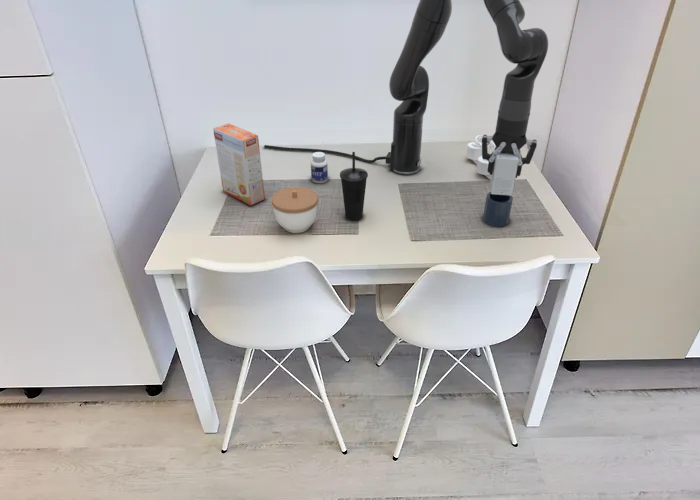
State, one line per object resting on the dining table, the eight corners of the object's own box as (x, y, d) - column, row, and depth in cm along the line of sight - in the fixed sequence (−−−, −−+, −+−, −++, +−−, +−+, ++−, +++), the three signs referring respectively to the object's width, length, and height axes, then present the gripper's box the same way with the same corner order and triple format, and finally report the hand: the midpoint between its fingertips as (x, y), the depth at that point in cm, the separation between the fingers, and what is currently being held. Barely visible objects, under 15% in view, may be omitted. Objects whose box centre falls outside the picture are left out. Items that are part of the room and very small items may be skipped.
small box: (512, 196, 141) (519, 160, 135) (490, 194, 142) (496, 158, 136) (510, 182, 148) (517, 147, 142) (490, 180, 148) (495, 145, 142)
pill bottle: (308, 181, 171) (307, 156, 165) (315, 174, 174) (314, 149, 169) (323, 184, 169) (322, 159, 164) (330, 177, 173) (329, 152, 168)
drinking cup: (371, 213, 154) (372, 149, 143) (360, 226, 149) (360, 160, 137) (347, 207, 157) (346, 144, 145) (336, 220, 151) (334, 155, 140)
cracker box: (266, 199, 162) (259, 134, 150) (250, 207, 158) (241, 140, 146) (238, 184, 169) (228, 121, 157) (222, 191, 166) (211, 127, 154)
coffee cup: (481, 224, 149) (485, 201, 144) (484, 212, 154) (487, 189, 150) (507, 228, 147) (512, 204, 143) (509, 215, 152) (513, 192, 148)
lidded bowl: (301, 243, 142) (299, 207, 136) (265, 230, 147) (260, 195, 141) (328, 221, 151) (327, 187, 144) (292, 210, 156) (289, 176, 150)
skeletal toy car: (462, 155, 185) (464, 135, 181) (493, 153, 186) (496, 134, 182) (480, 182, 169) (483, 161, 165) (514, 180, 170) (518, 159, 166)
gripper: (543, 111, 134) (531, 172, 144) (485, 106, 138) (477, 165, 147) (543, 122, 128) (530, 184, 138) (482, 117, 132) (474, 178, 141)
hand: (503, 174), depth 142 cm, fingers closed on small box, 6 cm apart
